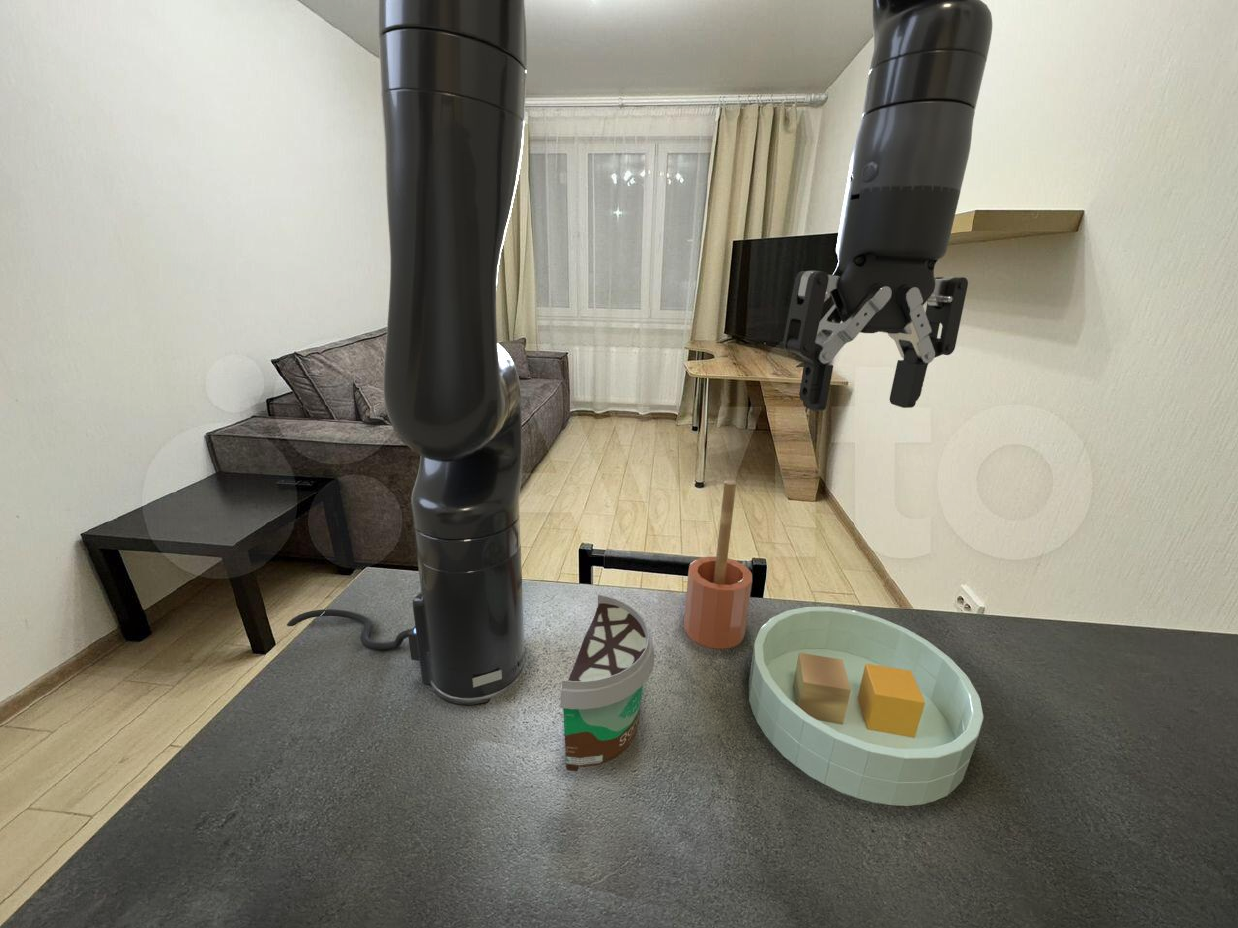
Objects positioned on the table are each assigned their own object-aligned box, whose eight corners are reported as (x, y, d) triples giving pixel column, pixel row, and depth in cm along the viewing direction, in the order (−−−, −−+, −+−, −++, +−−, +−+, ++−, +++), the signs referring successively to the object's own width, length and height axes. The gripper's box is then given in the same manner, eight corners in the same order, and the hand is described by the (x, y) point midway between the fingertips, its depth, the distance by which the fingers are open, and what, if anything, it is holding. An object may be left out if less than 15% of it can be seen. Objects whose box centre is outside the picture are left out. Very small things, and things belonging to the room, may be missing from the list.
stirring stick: (708, 630, 59) (724, 483, 53) (708, 624, 60) (724, 479, 54) (719, 632, 59) (736, 484, 53) (719, 626, 60) (736, 480, 54)
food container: (637, 802, 40) (643, 700, 37) (560, 785, 41) (559, 685, 38) (658, 686, 52) (664, 600, 48) (597, 676, 53) (599, 591, 49)
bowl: (750, 782, 42) (758, 730, 40) (746, 636, 59) (752, 595, 57) (1006, 835, 39) (1029, 781, 37) (924, 664, 56) (936, 621, 54)
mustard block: (866, 729, 47) (875, 694, 45) (857, 696, 50) (865, 662, 49) (915, 738, 46) (925, 702, 45) (901, 704, 50) (911, 670, 48)
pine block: (797, 716, 48) (803, 681, 46) (792, 685, 52) (798, 652, 50) (843, 724, 47) (851, 689, 46) (835, 692, 51) (842, 659, 49)
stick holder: (680, 647, 57) (686, 584, 54) (686, 610, 64) (691, 552, 61) (744, 658, 56) (753, 594, 53) (743, 619, 62) (751, 560, 60)
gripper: (939, 202, 43) (896, 396, 48) (786, 188, 39) (758, 399, 45) (1027, 189, 36) (965, 416, 42) (850, 172, 33) (808, 422, 38)
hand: (858, 407), depth 43 cm, fingers open, 8 cm apart
